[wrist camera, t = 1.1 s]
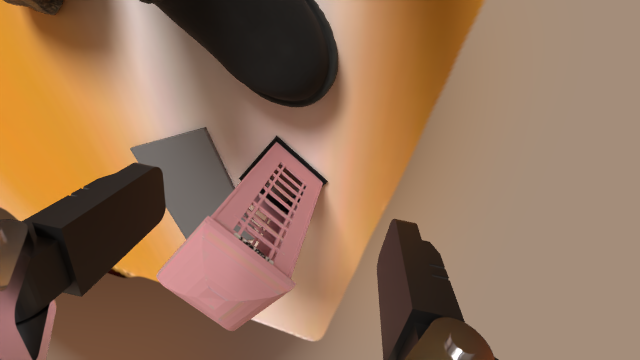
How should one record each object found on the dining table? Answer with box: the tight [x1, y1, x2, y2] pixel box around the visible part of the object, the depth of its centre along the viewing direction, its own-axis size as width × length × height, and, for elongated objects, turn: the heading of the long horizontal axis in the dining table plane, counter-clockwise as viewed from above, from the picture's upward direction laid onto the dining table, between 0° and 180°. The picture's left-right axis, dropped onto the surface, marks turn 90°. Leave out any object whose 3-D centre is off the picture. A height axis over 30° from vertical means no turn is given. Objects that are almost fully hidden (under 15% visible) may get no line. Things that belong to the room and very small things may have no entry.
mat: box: [130, 127, 255, 240], centre depth 42 cm, size 12×18×1 cm, turn 16°
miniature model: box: [157, 136, 328, 331], centre depth 31 cm, size 9×9×20 cm
